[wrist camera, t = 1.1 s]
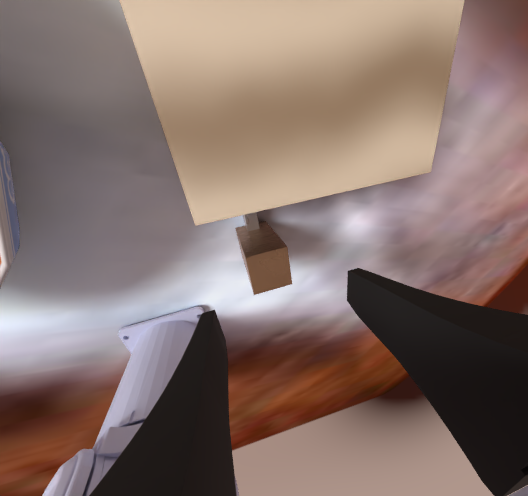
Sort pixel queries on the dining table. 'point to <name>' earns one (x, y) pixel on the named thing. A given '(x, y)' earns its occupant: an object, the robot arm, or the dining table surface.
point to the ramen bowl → (7, 216)
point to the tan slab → (294, 94)
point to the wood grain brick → (263, 255)
